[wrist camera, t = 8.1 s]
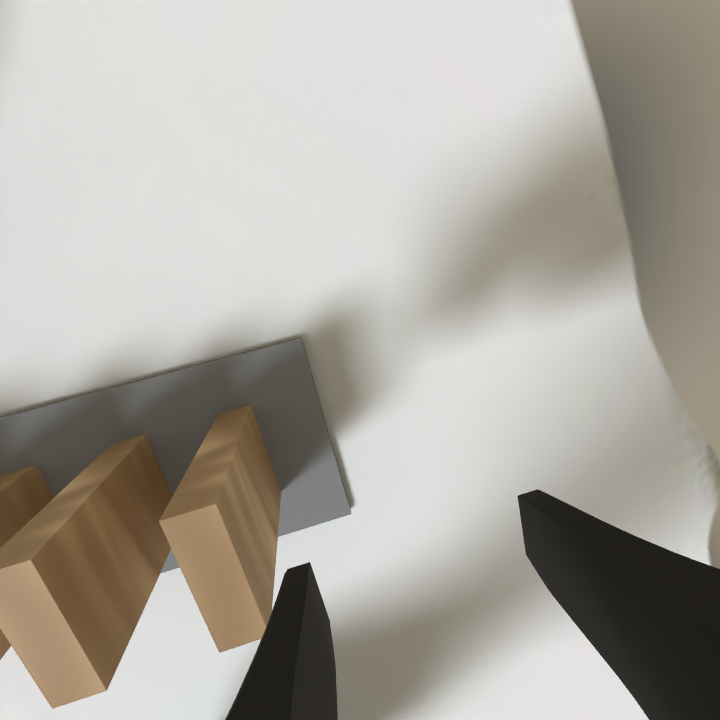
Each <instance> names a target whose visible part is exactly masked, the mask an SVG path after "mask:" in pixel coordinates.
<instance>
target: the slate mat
mask: <svg viewBox="0 0 720 720" xmlns="http://www.w3.org/2000/svg"><path fill="white" fill-rule="evenodd" d="M249 405H251V406H252V409H253V412H254V415H255V418H256V420H257V423H258V426H259V429H260V432H261V435H262V438H263V441H264V443H265V446H266V449H267V452H268V455H269V458H270V461H271V464H272V466H273V469H274V472H275V475H276V478H277V481H278V484H279V487H280V489H281V502H280V514H279V527H278V537H279V536H282V535H285V534H288V533H291V532H295V531H298V530H301V529H304V528H308V527H311V526H314V525H317V524H320V523H324V522H327V521H330V520H333V519H337V518H340V517H343V516H346V515H349V514H351V510H350V507H349V503H348V500H347V496H346V493H345V489H344V486H343V482H342V479H341V475H340V472H339V468H338V465H337V461H336V458H335V455H334V451H333V448H332V444H331V441H330V437H329V434H328V430H327V427H326V423H325V420H324V416H323V413H322V409H321V406H320V402H319V399H318V395H317V392H316V388H315V385H314V381H313V378H312V375H311V371H310V368H309V364H308V361H307V357H306V354H305V350H304V347H303V343H302V340H301V338H297V339H294V340H290V341H286V342H282V343H278V344H275V345H271V346H267V347H263V348H260V349H256V350H252V351H248V352H244V353H241V354H237V355H233V356H229V357H226V358H222V359H218V360H214V361H210V362H207V363H203V364H199V365H195V366H192V367H188V368H184V369H180V370H177V371H173V372H169V373H165V374H161V375H158V376H154V377H150V378H146V379H143V380H139V381H135V382H131V383H127V384H124V385H120V386H116V387H112V388H109V389H105V390H101V391H97V392H93V393H90V394H86V395H82V396H78V397H75V398H71V399H67V400H63V401H59V402H56V403H52V404H48V405H44V406H41V407H37V408H33V409H29V410H26V411H22V412H18V413H14V414H10V415H7V416H3V417H0V475H1V474H5V473H9V472H12V471H16V470H19V469H23V468H27V467H30V466H34V465H37V467H38V469H39V471H40V473H41V475H42V477H43V478H44V480H45V482H46V484H47V486H48V488H49V490H50V492H51V494H52V495H53V497H56V496H57V495H58V494H59V493H60V492H61V491H62V490H63V489H64V488H65V487H66V486H67V485H68V484H69V483H70V482H71V481H73V480H74V479H75V478H76V477H77V476H78V475H79V474H80V473H81V472H82V471H83V470H84V469H85V468H86V467H87V466H89V465H90V464H91V463H92V462H93V461H94V460H95V459H96V458H97V457H98V456H99V455H100V454H101V453H102V452H103V451H105V450H106V449H107V448H108V447H109V446H110V445H111V444H113V443H117V442H120V441H124V440H127V439H131V438H135V437H138V436H142V435H145V434H146V435H147V438H148V440H149V442H150V445H151V447H152V449H153V452H154V454H155V456H156V459H157V461H158V463H159V465H160V468H161V470H162V472H163V475H164V477H165V479H166V482H167V484H168V486H169V489H170V491H171V493H172V496H173V495H174V493H175V491H176V489H177V488H178V486H179V484H180V482H181V480H182V479H183V477H184V475H185V473H186V471H187V470H188V468H189V466H190V464H191V462H192V461H193V459H194V457H195V455H196V453H197V451H198V450H199V448H200V446H201V444H202V442H203V441H204V439H205V437H206V435H207V433H208V432H209V430H210V428H211V426H212V424H213V423H214V421H215V419H216V417H217V415H218V414H220V413H224V412H227V411H231V410H234V409H238V408H242V407H245V406H249ZM179 567H180V566H179V564H178V562H177V560H176V558H175V555H174V553H173V551H172V549H171V551H170V553H169V555H168V557H167V559H166V561H165V564H164V566H163V568H162V570H161V572H160V573H163V572H166V571H169V570H172V569H176V568H179Z"/></svg>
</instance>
